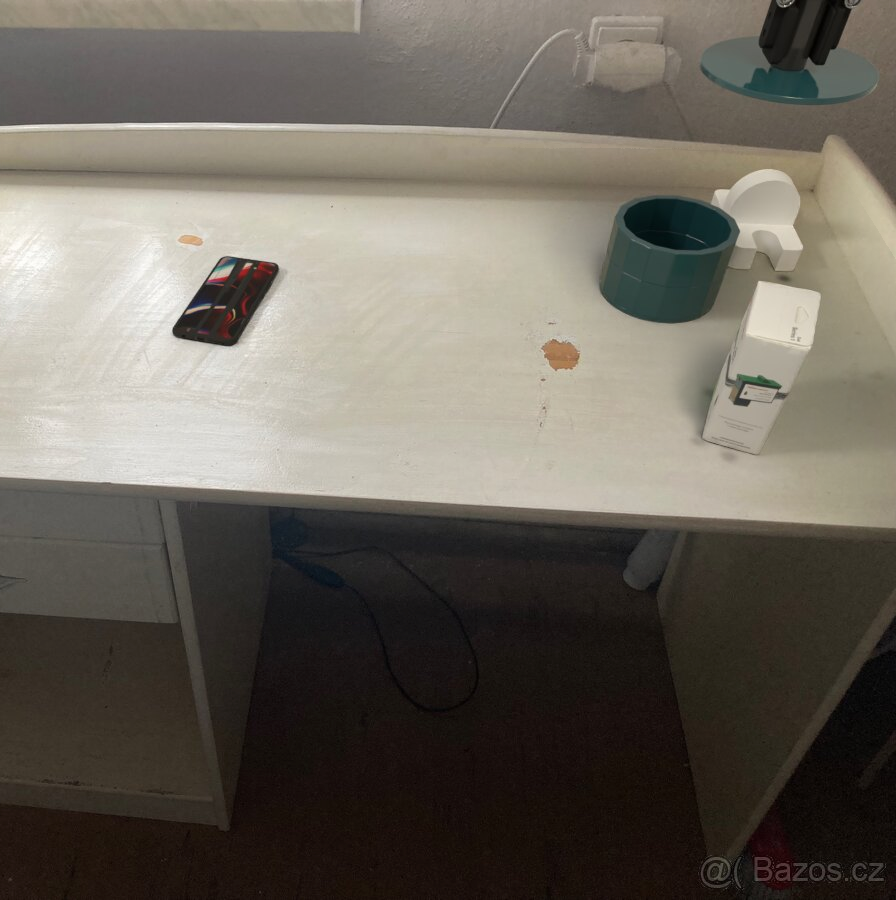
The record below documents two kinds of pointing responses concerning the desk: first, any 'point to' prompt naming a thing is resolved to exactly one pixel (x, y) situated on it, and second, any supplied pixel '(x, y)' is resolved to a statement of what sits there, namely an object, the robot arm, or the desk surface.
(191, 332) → the smartphone
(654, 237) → the pot
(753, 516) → the desk surface
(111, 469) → the desk surface
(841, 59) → the lid
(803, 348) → the ink box
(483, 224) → the desk surface
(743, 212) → the slotted bracket
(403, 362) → the desk surface
